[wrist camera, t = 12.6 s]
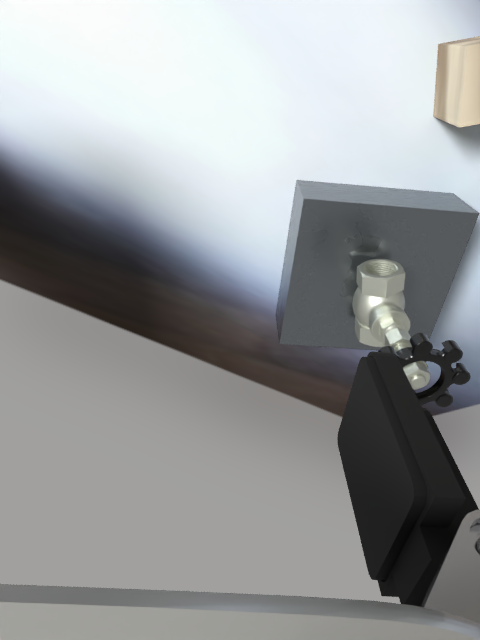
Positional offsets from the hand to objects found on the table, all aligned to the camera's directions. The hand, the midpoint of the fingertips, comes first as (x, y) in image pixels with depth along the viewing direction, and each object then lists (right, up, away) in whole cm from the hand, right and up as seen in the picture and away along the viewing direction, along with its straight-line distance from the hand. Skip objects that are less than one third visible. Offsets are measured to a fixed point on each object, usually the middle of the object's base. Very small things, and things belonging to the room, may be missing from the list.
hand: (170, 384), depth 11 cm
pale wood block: (+19, +20, +23) cm, 36 cm away
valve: (+13, +4, +28) cm, 31 cm away
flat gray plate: (+13, +7, +31) cm, 35 cm away
